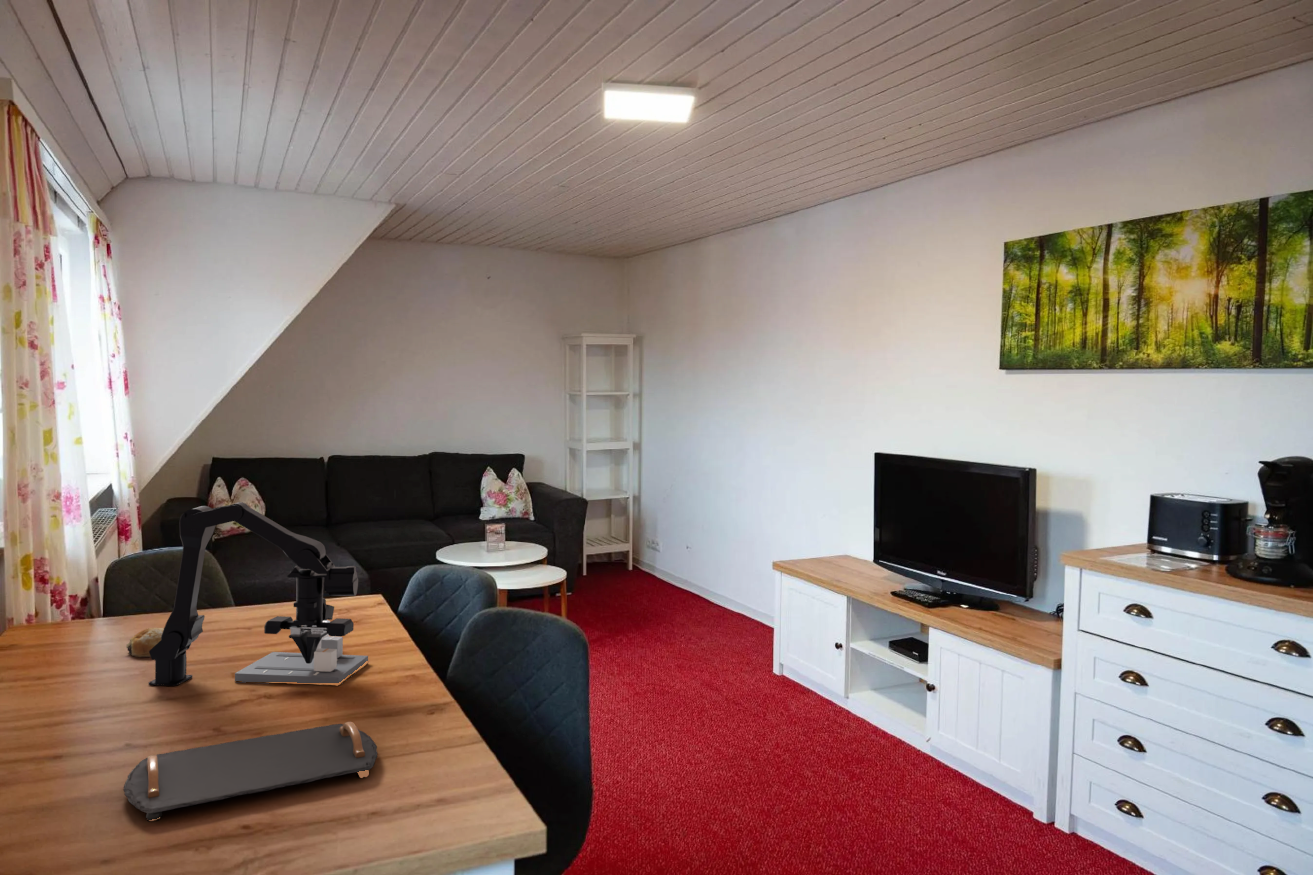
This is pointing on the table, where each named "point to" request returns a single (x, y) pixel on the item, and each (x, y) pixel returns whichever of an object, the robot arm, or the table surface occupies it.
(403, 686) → the table surface
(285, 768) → the serving board
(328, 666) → the block
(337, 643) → the fader
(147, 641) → the bread roll
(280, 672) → the console
